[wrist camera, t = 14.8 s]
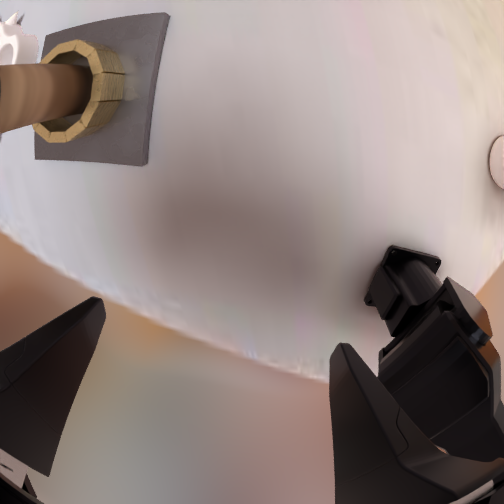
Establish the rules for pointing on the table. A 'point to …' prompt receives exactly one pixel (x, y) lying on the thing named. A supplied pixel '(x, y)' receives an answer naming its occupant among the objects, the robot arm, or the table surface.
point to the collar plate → (106, 90)
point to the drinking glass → (497, 162)
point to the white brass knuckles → (16, 44)
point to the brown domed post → (42, 93)
